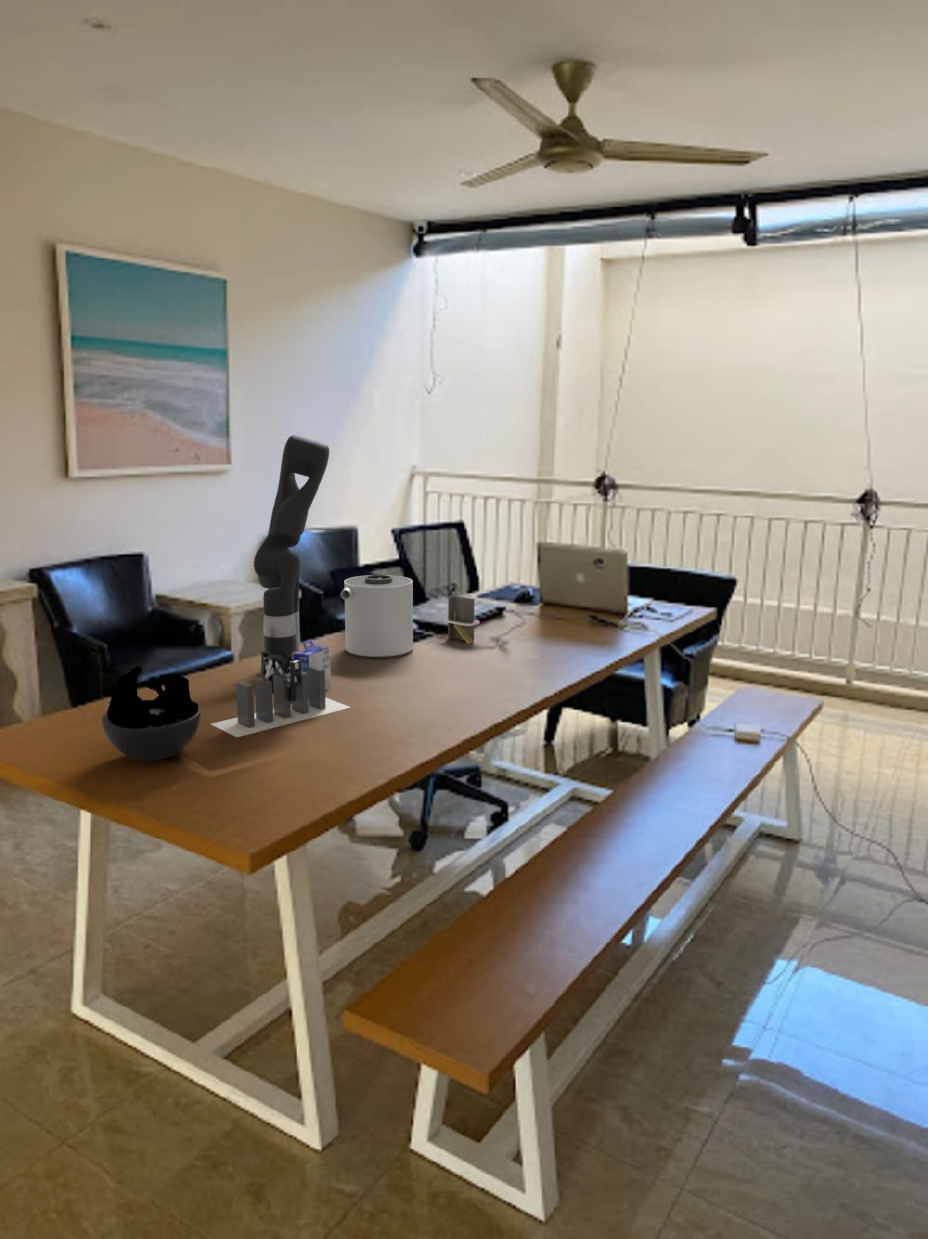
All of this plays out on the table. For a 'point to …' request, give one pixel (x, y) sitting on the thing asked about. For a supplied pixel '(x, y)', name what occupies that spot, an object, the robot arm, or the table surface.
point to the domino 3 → (281, 697)
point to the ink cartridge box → (315, 659)
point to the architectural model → (461, 618)
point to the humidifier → (378, 616)
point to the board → (277, 719)
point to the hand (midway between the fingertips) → (282, 697)
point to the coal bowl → (151, 717)
